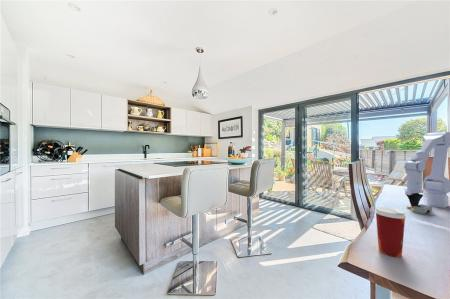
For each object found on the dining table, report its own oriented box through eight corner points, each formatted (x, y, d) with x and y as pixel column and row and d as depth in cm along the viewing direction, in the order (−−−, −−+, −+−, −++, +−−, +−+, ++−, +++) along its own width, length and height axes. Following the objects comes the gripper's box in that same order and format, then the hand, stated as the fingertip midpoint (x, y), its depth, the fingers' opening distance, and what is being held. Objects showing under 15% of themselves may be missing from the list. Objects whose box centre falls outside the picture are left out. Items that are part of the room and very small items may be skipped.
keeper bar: (415, 207, 103) (415, 205, 103) (421, 208, 101) (421, 206, 101) (406, 208, 100) (406, 206, 100) (412, 209, 97) (412, 207, 97)
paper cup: (413, 259, 55) (413, 214, 55) (388, 259, 55) (388, 214, 55) (390, 246, 63) (390, 206, 63) (368, 245, 63) (368, 206, 63)
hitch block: (421, 212, 97) (421, 204, 97) (432, 214, 93) (432, 206, 93) (413, 214, 94) (413, 206, 94) (424, 217, 90) (424, 208, 90)
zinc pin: (415, 212, 98) (415, 206, 98) (434, 216, 91) (434, 210, 91) (411, 213, 96) (411, 207, 96) (430, 218, 89) (430, 211, 89)
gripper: (411, 180, 107) (411, 203, 107) (398, 182, 101) (398, 206, 101) (428, 182, 100) (428, 206, 100) (415, 184, 95) (415, 209, 95)
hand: (414, 206), depth 100 cm, fingers closed
